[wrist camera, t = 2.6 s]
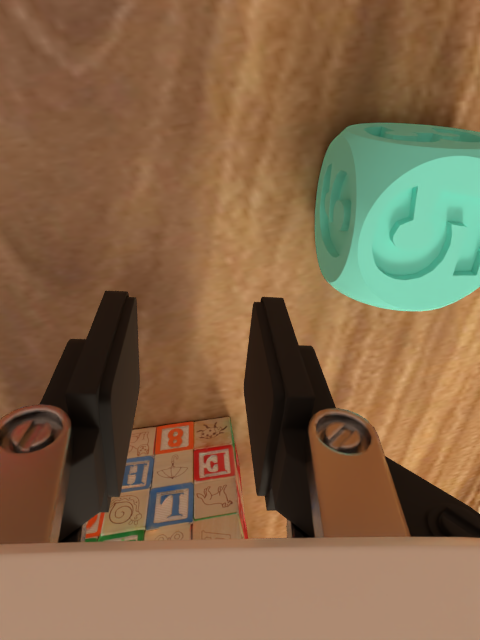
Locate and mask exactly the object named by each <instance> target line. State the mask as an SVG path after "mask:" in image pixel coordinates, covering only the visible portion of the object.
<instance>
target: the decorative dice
mask: <svg viewBox="0 0 480 640" xmlns="http://www.w3.org/2000/svg"><path fill="white" fill-rule="evenodd" d="M315 243H316V252H317V258H318V263H319V267H320V270H321V272H322V275H323V276H324V278H325V279H326V280H327V281H328V282H329V284H330V285H331V286H333V287H334V288H335V289H336V290H338V291H339V292H341V293H342V294H344V295H346V296H348V297H350V298H352V299H354V300H357V301H360V302H362V303H365V304H369V305H372V306H376V307H380V308H385V309H391V310H399V311H427V310H434V309H438V308H442V307H444V306H447V305H449V304H452V303H454V302H456V301H458V300H460V299H462V298H464V297H465V296H467V295H469V294H470V293H472V292H473V291H475V290H476V289H477V288H479V287H480V132H475V131H470V130H464V129H457V128H450V127H442V126H433V125H422V124H407V123H363V124H355V125H350V126H348V127H346V128H345V129H344V130H343V131H342V132H341V133H340V134H339V135H338V136H337V137H336V138H335V139H334V140H333V141H332V142H331V144H330V145H329V147H328V149H327V152H326V154H325V157H324V160H323V164H322V167H321V171H320V176H319V181H318V187H317V195H316V206H315Z"/></svg>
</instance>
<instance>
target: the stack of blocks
mask: <svg viewBox="0 0 480 640" xmlns="http://www.w3.org/2000/svg"><path fill="white" fill-rule="evenodd" d="M86 529H87V530H86V538H85V542H111V541H159V540H209V539H248V535H247V527H246V523H245V514H244V506H243V498H242V487H241V477H240V467H239V461H238V456H237V450H236V445H235V443H234V437H233V432H232V426H231V420H230V417H223V418H217V419H209V420H202V421H197V422H193V421H191V422H184V423H178V424H171V425H164V426H159V427H150V428H143V429H136V430H132V433H131V439H130V445H129V450H128V456H127V461H126V467H125V473H124V478H123V484H122V489H121V494H120V497H111V502H110V507H109V512H105V513H98V514H97V515H95V516H94V517H93V518H91V519H90V520H89V521H87V522H86Z"/></svg>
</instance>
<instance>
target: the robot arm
mask: <svg viewBox="0 0 480 640" xmlns="http://www.w3.org/2000/svg"><path fill="white" fill-rule="evenodd" d="M139 386H140V374H139V349H138V324H137V301H136V297H129V294H128V292H124V291H105V293H104V295H103V298H102V300H101V303H100V306H99V308H98V311H97V313H96V316H95V318H94V321H93V323H92V326H91V329H90V331H89V334H88V336H87V339H70V340H69V341H68V343H67V345H66V347H65V349H64V352H63V354H62V356H61V358H60V360H59V363H58V365H57V367H56V369H55V372H54V374H53V376H52V378H51V380H50V383H49V385H48V387H47V389H46V392H45V394H44V396H43V398H42V400H41V403H40V405H39V404H38V405H32V406H26V407H23V408H20V409H17V410H14V411H13V412H11V413H9V414H7V415H6V416H4V417H3V418H2V419H0V640H480V514H479V513H478V512H476V511H475V510H473V509H472V508H471V507H469V506H468V505H466V504H464V503H463V502H461V501H459V500H458V499H456V498H454V497H453V496H451V495H449V494H447V493H446V492H444V491H442V490H441V489H439V488H437V487H436V486H434V485H432V484H431V483H429V482H427V481H426V480H424V479H422V478H421V477H419V476H417V475H416V474H414V473H412V472H411V471H409V470H407V469H406V468H404V467H402V466H401V465H399V464H397V463H396V462H394V461H392V460H391V459H389V458H387V457H386V456H385V455H384V452H383V449H382V446H381V443H380V440H379V437H378V434H377V432H376V430H375V428H374V427H373V426H372V425H371V424H370V423H369V422H368V421H367V420H366V419H365V418H363V417H361V416H360V415H358V414H356V413H354V412H351V411H349V410H344V409H339V408H336V407H335V404H334V402H333V399H332V396H331V394H330V391H329V388H328V386H327V383H326V380H325V378H324V375H323V372H322V369H321V367H320V364H319V361H318V359H317V356H316V353H315V351H314V349H313V347H312V346H299V345H298V342H297V339H296V336H295V333H294V330H293V327H292V324H291V321H290V318H289V315H288V312H287V309H286V306H285V303H284V300H283V298H273V297H262V298H261V302H254V304H253V310H252V319H251V327H250V336H249V344H248V353H247V362H246V370H245V379H244V396H245V404H246V412H247V420H248V428H249V437H250V445H251V453H252V461H253V469H254V477H255V485H256V492H257V495H258V496H265V501H266V508H267V510H276V511H278V512H279V513H280V514H282V515H283V516H284V517H285V518H287V526H286V527H287V538H263V539H209V540H159V541H111V542H85V538H86V530H87V529H86V522H87V521H89V520H90V519H91V518H93V517H94V516H95V515H97V514H98V513H105V512H109V507H110V502H111V497H120V494H121V489H122V484H123V478H124V473H125V467H126V461H127V456H128V450H129V445H130V439H131V433H132V428H133V422H134V417H135V411H136V406H137V400H138V394H139Z"/></svg>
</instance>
